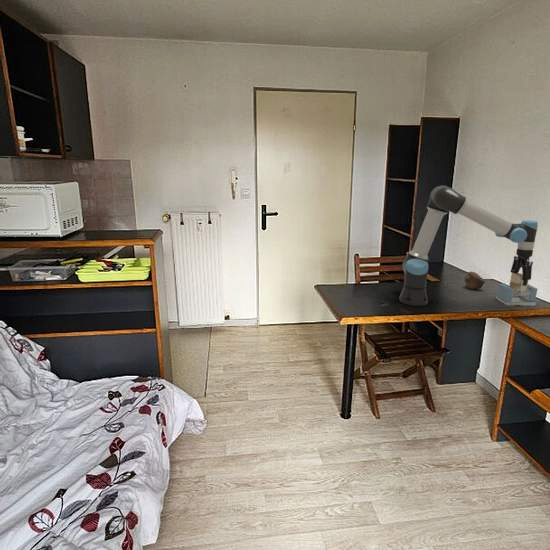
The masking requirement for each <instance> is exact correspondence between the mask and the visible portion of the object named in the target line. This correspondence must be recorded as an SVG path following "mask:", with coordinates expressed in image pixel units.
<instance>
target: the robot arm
mask: <svg viewBox="0 0 550 550" xmlns="http://www.w3.org/2000/svg"><path fill="white" fill-rule="evenodd" d="M426 209H427V213H426V214H425V215H426V216H425V217H424V220H423V223H422V225H421V227H420V229H419V233H418V234H417V237H416V240H415V242H414V246H413V247H412V250H410V251H408V253H407V255H406V257H405V259H404V260H402V261H403V262H402V269H403V273H404V279H403V280H404V281H403V288H402V290H401V292H400V295H399V296H398V298H399V299H398V300H399V302H401V304H404V305H407V306H412V307H421V306H426V305H428V301H429V300H428V295H427V282H428V281H427V280H428V272H429V263H428V261H429V256H428V254H429V251H430V249H431V246H432V243H433V242H434V240H435V237H436V235H437V232H438V230H439V227H440V225H441V223H442V220H443V217H444V216H445V215H447V214H449V212H450V213H453V214H454V215H461V216H463V217H464V218H466V219H469V220H470V221H472V222H474V223H477V224H478V225H480V226H481V227H484V228H486V229H488V230H490V231H492V232H494V233H495V236H496V237H498V238H499V237H500V238H506V239H508V240H509V241H511V242H512V243H514V244H515V243H516V244H517V248H516V252H515V253H516V255H514V257H513V262H512V265H511V268H510V273H511V274H512V273H520V270H521V274H523V279H522V281H521V286H520V291H519V292H521V291H526V285H527V281H528V282H529V281H530V280H531V279H532V269H533V263H534V262H533V261H531V260H530V258H531V257H532V256H533V253H534V247H535V242H536V236H537V232H538V224H539V223H538V221H537V220H534V219H523V220H522V221H521V222H520V223H512V222H510V221H508V220H506V219H505V218H502V217H500V216H498V215H496V214H494V213H492V212H490V211H488V210H487V209H485V208H483V207H481V206H478V205H476V204H475V203H472V202H471V201H469V200H468V199H467V197H466V196H464V195H462V194H461V193H459V192H457V191H456V190H455V189H453V188H452V187H449V186H447V185H439V186H436V187H435V188H433V189H432V190H431V192H430V194H429V200H428V203H427V205H426Z"/></svg>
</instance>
